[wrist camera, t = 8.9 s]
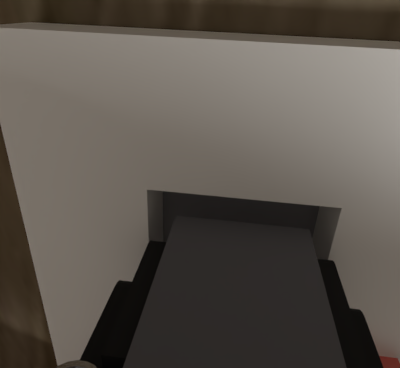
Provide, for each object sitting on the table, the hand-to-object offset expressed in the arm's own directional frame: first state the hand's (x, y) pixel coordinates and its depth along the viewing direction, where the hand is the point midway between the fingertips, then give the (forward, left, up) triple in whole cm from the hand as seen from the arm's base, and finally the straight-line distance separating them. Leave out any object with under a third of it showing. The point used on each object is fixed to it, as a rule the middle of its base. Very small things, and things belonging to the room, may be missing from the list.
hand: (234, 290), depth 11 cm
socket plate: (0, 0, -3) cm, 3 cm away
